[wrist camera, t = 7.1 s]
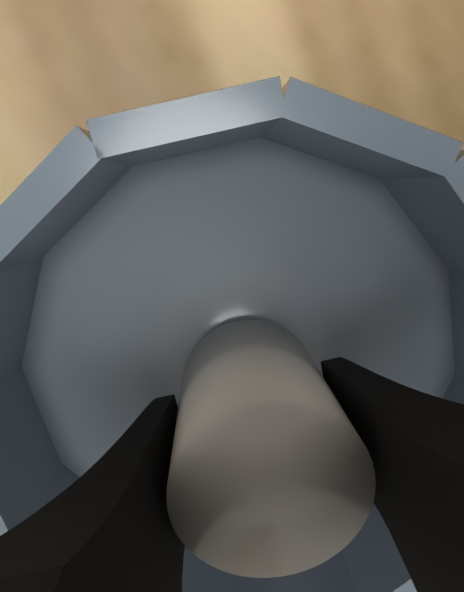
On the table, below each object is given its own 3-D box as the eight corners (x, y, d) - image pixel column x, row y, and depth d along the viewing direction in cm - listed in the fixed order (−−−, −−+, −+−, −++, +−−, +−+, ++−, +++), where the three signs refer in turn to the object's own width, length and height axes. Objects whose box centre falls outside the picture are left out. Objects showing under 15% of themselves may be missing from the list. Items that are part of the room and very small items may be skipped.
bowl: (443, 71, 13) (566, 11, 8) (466, 485, 17) (554, 586, 13) (-59, 185, 13) (-199, 184, 8) (98, 567, 17) (61, 696, 13)
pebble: (300, 304, 12) (359, 378, 8) (324, 422, 14) (388, 551, 9) (166, 338, 12) (138, 432, 8) (201, 452, 14) (197, 597, 9)
